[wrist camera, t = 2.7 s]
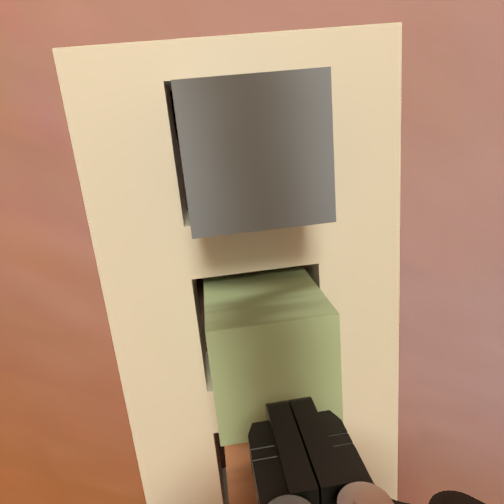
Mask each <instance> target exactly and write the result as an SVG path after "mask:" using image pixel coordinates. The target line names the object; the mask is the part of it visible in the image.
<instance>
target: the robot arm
mask: <svg viewBox="0 0 504 504" xmlns="http://www.w3.org/2000/svg"><path fill="white" fill-rule="evenodd" d="M265 410H266V421H261V422H255V423H252V425H251V428H250V431H249V433H248V442H249V451H250V460H251V469H252V477H253V483H254V488H255V494H256V500H257V504H408V503H402V502H399V501H396V500H394V499H391V498H390V496H389V495H388V494H387V493H386V492H385V491H384V490H383V489H382V488H380V487H379V486H377V485H375V484H374V482H373V481H372V479H371V477H370V475H369V473H368V471H367V469H366V467H365V465H364V463H363V461H362V459H361V457H360V455H359V453H358V451H357V449H356V447H355V445H354V444H353V442H352V440H351V438H350V436H349V434H348V432H347V430H346V428H345V426H344V424H343V422H342V420H341V419H340V418H339V417H338V416H336V415H335V414H334V413H333V412H331V411H330V410H326V411H320V412H318V411H317V409H316V407H315V404H314V402H313V400H312V398H311V397H303V398H297V399H291V400H288V401H287V400H285V401H279V402H273V403H267V404H265ZM429 504H485V503H483V502H481V501H479V500H477V499H475V498H473V497H471V496H469V495H467V494H464V493H461V492H457V491H442V492H439V493H437V494H435V495H434V496H433V497H432V498H431V499H430V502H429Z"/></svg>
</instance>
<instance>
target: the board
mask: <svg viewBox="0 0 504 504" xmlns="http://www.w3.org/2000/svg"><path fill="white" fill-rule="evenodd" d="M52 50H53V55H54V60H55V65H56V69H57V74H58V79H59V84H60V89H61V94H62V98H63V103H64V108H65V113H66V118H67V122H68V127H69V132H70V137H71V142H72V147H73V151H74V156H75V161H76V166H77V171H78V175H79V180H80V185H81V190H82V195H83V200H84V204H85V209H86V214H87V219H88V224H89V228H90V233H91V238H92V243H93V248H94V253H95V257H96V262H97V267H98V272H99V277H100V281H101V286H102V291H103V296H104V301H105V306H106V310H107V315H108V320H109V325H110V330H111V334H112V339H113V344H114V349H115V354H116V359H117V363H118V368H119V373H120V378H121V383H122V387H123V392H124V397H125V402H126V407H127V412H128V416H129V421H130V426H131V431H132V436H133V440H134V445H135V450H136V455H137V460H138V465H139V469H140V474H141V479H142V484H143V489H144V493H145V498H146V503H147V504H229V497H228V484H227V472H226V467H225V468H222V464H221V457H220V450H219V443H218V435H217V433H219V431H218V424H217V416H216V409H215V402H214V394H213V387H212V380H211V372H210V365H209V358H208V352H206V348H205V341H204V334H203V327H202V319H201V312H200V305H199V298H198V290H197V283H196V279H200V278H208V277H216V276H223V275H231V274H239V273H247V272H255V271H263V270H270V269H278V268H286V267H294V266H303V268H304V269H305V270H306V272H307V273H308V274H309V275H310V277H311V278H312V279H313V281H314V282H315V283H316V284H317V286H318V287H319V288H320V290H321V291H322V292H323V293H324V295H325V296H326V297H327V298H328V300H329V301H330V302H331V304H332V305H333V306H334V307H335V309H336V310H337V311H338V313H339V315H340V344H341V373H342V402H343V424H344V426H345V428H346V430H347V432H348V434H349V436H350V438H351V440H352V442H353V444H354V445H355V447H356V449H357V451H358V453H359V455H360V457H361V459H362V461H363V463H364V465H365V467H366V469H367V471H368V473H369V475H370V477H371V479H372V481H373V482H374V484H375V485H377V486H379V487H380V488H382V489H383V490H384V491H385V492H386V493H387V494H388V495H389V496H390V498H391V499H394V500H396V501H397V479H398V375H399V271H400V166H401V62H402V22H397V23H383V24H370V25H356V26H343V27H330V28H316V29H303V30H289V31H276V32H262V33H249V34H235V35H222V36H209V37H195V38H182V39H168V40H155V41H141V42H128V43H114V44H101V45H87V46H74V47H61V48H52ZM320 67H331V85H332V114H333V143H334V171H335V200H336V222H332V223H323V224H315V225H306V226H298V227H289V228H281V229H272V230H264V231H256V232H247V233H239V234H230V235H222V236H213V237H205V238H196V239H192V233H191V226H190V219H189V212H188V211H186V203H185V196H184V189H183V182H182V174H181V167H180V160H179V153H178V145H177V138H176V131H175V124H174V116H173V109H172V102H171V95H170V91H172V87H171V80H175V79H187V78H199V77H211V76H223V75H235V74H247V73H259V72H271V71H283V70H296V69H308V68H320Z"/></svg>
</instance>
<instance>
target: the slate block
mask: <svg viewBox="0 0 504 504" xmlns="http://www.w3.org/2000/svg"><path fill="white" fill-rule="evenodd" d="M171 87H172V94H173V102H174V109H175V116H176V124H177V131H178V138H179V146H180V153H181V160H182V168H183V175H184V182H185V190H186V197H187V204H188V212H189V219H190V226H191V233H192V239H196V238H205V237H213V236H222V235H230V234H239V233H247V232H256V231H264V230H272V229H281V228H289V227H298V226H306V225H315V224H323V223H332V222H336V200H335V171H334V143H333V114H332V85H331V67H320V68H308V69H296V70H283V71H271V72H259V73H247V74H235V75H223V76H211V77H199V78H187V79H175V80H171Z"/></svg>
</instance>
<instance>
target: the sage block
mask: <svg viewBox="0 0 504 504" xmlns="http://www.w3.org/2000/svg"><path fill="white" fill-rule="evenodd" d="M203 283H204V315H205V336H206V343H207V351H208V358H209V365H210V372H211V380H212V387H213V394H214V402H215V409H216V416H217V424H218V431H219V438H220V446H227V445H233V444H240V443H246V442H248V433H249V431H250V428H251V425H252V423H255V422H261V421H266V410H265V404H267V403H273V402H279V401H285V400H287V401H288V400H291V399H297V398H303V397H311V398H312V400H313V402H314V404H315V407H316V409H317V411H318V412H320V411H326V410H330V411H331V412H333V413H334V414H335V415H336V416H338V417H339V418H340V419H341V420H342V422H343V402H342V373H341V344H340V315H339V313H338V311H337V310H336V309H335V307H334V306H333V305H332V304H331V302H330V301H329V300H328V298H327V297H326V296H325V295H324V293H323V292H322V291H321V290H320V288H319V287H318V286H317V284H316V283H315V282H314V281H313V279H312V278H311V277H310V275H309V274H308V273H307V272H306V270H305V269H304V268H303V266H294V267H286V268H278V269H270V270H263V271H255V272H247V273H239V274H231V275H223V276H216V277H208V278H203Z"/></svg>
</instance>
